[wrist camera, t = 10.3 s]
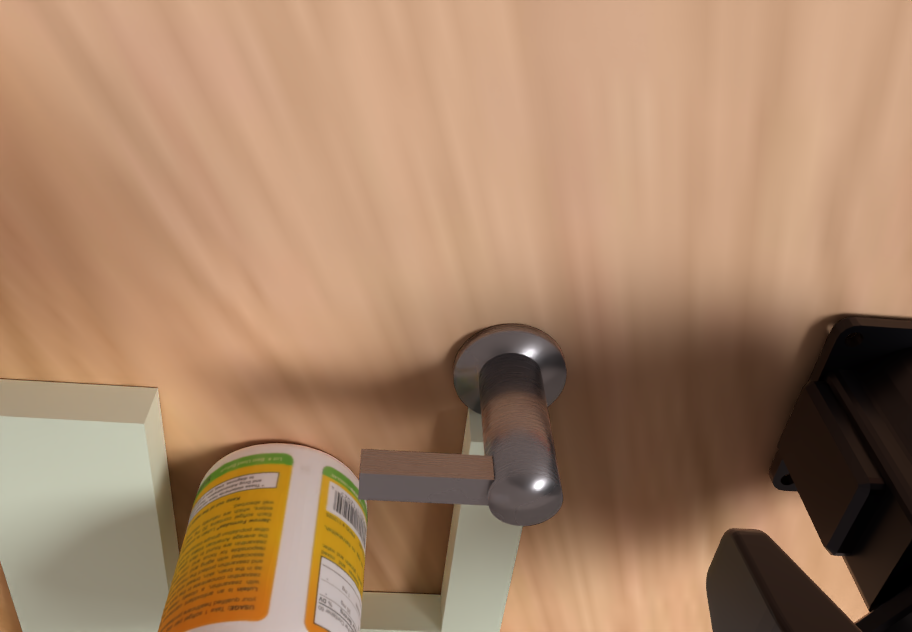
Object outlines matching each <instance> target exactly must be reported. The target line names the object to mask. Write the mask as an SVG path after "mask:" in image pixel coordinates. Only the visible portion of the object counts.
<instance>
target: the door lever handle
mask: <svg viewBox="0 0 912 632" xmlns="http://www.w3.org/2000/svg"><path fill="white" fill-rule="evenodd" d="M453 375H454V386H455V389H456V392H457V394H458V396H459V398H460V399H461V400H462V402H463V403H464V404H465V405H466V406H467V407H469V408H470V409H471V410H473V411H475V412H476V413H478V414H481V418H482V431H483V444H484V455H465V454H446V453H427V452H408V451H389V450H370V449H362V451H361V463H360V475H359V494H358V499H360V500H380V501H401V502H422V503H443V504H464V505H485V506H489V509H490V511H491V513H492V514H493V515H494V516H495V517H496V518H497V519H499V520H500V521H502V522H504V523H507V524H510V525H515V526H530V525H535V524H539V523H542V522H544V521H546V520H548V519H550V518H551V517H553V516H554V515H555V514H556V513H557V512H558V511H559V509H560V507H561V505H562V502H563V494H562V488H561V482H560V476H559V471H558V465H557V459H556V453H555V447H554V442H553V436H552V430H551V424H550V419H549V413H548V406H549V405H550V404H552V403H553V402H554V401H555V400H556V399H557V397H558V396H559V395H560V393H561V392H562V390H563V388H564V385H565V382H566V366H565V361H564V356H563V353H562V351H561V349H560V347H559V345H558V344H557V343H556V342H555V340H554V339H553V338H551V337H550V336H549V335H548V334H546V333H545V332H543V331H541V330H539V329H536V328H534V327H531V326H526V325H520V324H505V325H498V326H494V327H491V328H487V329H485V330H483V331H481V332H479V333H477V334H475V335H474V336H472V337H471V338H470V339H469V340H468V341H467V342H465V343H464V345H463V346H462V347H461V348H460V350H459V352H458V353H457V356H456V358H455V361H454V368H453Z"/></svg>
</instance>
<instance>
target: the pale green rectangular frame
mask: <svg viewBox="0 0 912 632" xmlns="http://www.w3.org/2000/svg"><path fill="white" fill-rule="evenodd" d="M462 454H465V455H484V444H483V431H482V418H481V414H478V413H476V412H475V411H473V410H471V409H470V408H469V407H468V414H467V420H466V427H465V434H464V441H463V447H462ZM522 528H523V526H515V525H510V524H507V523H504V522H502V521H500V520H499V519H497V518H496V517H495V516H494V515H493V514H492V513H491V511H490V509H489V506H485V505H464V504H454V508H453V515H452V522H451V528H450V535H449V542H448V549H447V555H446V562H445V569H444V575H443V582H442V589H441V595H434V594H409V593H383V592H363V596H362V611H361V626H360V632H500V627H501V623H502V618H503V614H504V609H505V605H506V600H507V596H508V591H509V587H510V582H511V578H512V573H513V568H514V564H515V559H516V555H517V550H518V546H519V541H520V537H521V532H522ZM178 558H179V548H178V540H177V532H176V524H175V517H174V509H173V501H172V493H171V486H170V478H169V470H168V462H167V455H166V447H165V439H164V431H163V424H162V416H161V408H160V400H159V393H158V388H147V387H129V386H112V385H95V384H77V383H60V382H43V381H25V380H8V379H0V562H1V565H2V569H3V572H4V575H5V578H6V581H7V584H8V587H9V591H10V594H11V597H12V600H13V603H14V606H15V610H16V613H17V616H18V619H19V622H20V625H21V628H22V632H158V629H159V625H160V622H161V617H162V614H163V610H164V608H165V603H166V601H167V597H168V593H169V590H170V587H171V583H172V579H173V576H174V573H175V569H176V565H177V562H178Z"/></svg>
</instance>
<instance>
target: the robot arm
mask: <svg viewBox="0 0 912 632" xmlns="http://www.w3.org/2000/svg"><path fill="white" fill-rule="evenodd" d="M852 333H856V334H855V335H854V336H852V337H851V338H847V336H848V335H850V334H852ZM787 474H788V475H787ZM769 476H770V478H771V480H772V483H773V485H774V487H775V488H777V489H778V490H783V491H798V493H799V495H800V497H801V499H802V501H803V503H804V505H805V508H806V510H807V512H808V514H809V516H810V518H811V520H812V522H813V525H814V527H815V529H816V531H817V533H818V535H819V537H820V539H821V542H822V544H823V546H824V547H825V548H826V550H827V551H828V552H829V553H830V554H831V555H835V556H842V557H843V559H844V561H845V563H846V565H847V567H848V569H849V571H850V573H851V575H852V577H853V579H854V581H855V583H856V585H857V588H858V590H859V592H860V594H861V596H862V598H863V600H864V602H865V604H866V606H867V608H868V610H869V613H868V614H866V615H865V616H863V617H862V618H861V619H859V620H858V621H856V622H855V623H853V622H852V621H851V620H850V619H849V618H848V617H847V615H846V614H845V613H844V612H843V611H842V610H841V609H840V608H839V607H838V606H837V605H836V604H835V603H834V602H833V601H832V600H831V599H830V598H829V597H828V596H827V595H826V594H825V593H824V592H823V591H822V590H821V589H820V588H819V587H818V586H817V585H816V584H815V583H814V582H813V581H812V580H811V579H810V578H809V577H808V576H807V575H806V574H805V573H804V572H803V571H802V570H801V568H800V567H799V566H798V565H797V564H796V563H795V562H794V561H793V560H792V559H791V558H790V557H789V556H788V555H787V554H786V553H785V552H784V551H783V550H782V549H781V548H780V547H779V546H778V545H777V544H776V543H775V542H774V541H773V540H772V539H771V538H770V537H769V536H768V535H767V534H766V533H764V532H763V531H760V530H756V529H737V528H732V529H729V530H727V531H726V532H725V533H724V535H723V537H722V539H721V541H720V544H719V546H718V548H717V551H716V553H715V555H714V558H713V560H712V562H711V565H710V567H709V570H708V573H707V578H706V591H707V598H708V604H709V611H710V617H711V623H712V630H713V632H912V321H909V320H894V319H879V318H865V317H848V318H845V319H843V320H840V321H839V322H838V323H836V324H835V325H834V327H833V328H832V330H831V331H830V334H829V336H828V338H827V340H826V343H825V345H824V347H823V349H822V352H821V354H820V356H819V359H818V361H817V363H816V365H815V368H814V370H813V372H812V374H811V377H810V379H809V381H808V383H807V384H806V385H805V386H804V387H803V389H802V391H801V393H800V395H799V398H798V400H797V402H796V404H795V407H794V409H793V411H792V413H791V416H790V418H789V420H788V423H787V425H786V427H785V429H784V432H783V434H782V436H781V438H780V441H779V443H778V451H777V453H776V455H775V458H774V460H773V462H772V464H771V467H770V469H769Z"/></svg>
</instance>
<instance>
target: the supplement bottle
mask: <svg viewBox="0 0 912 632" xmlns="http://www.w3.org/2000/svg"><path fill="white" fill-rule="evenodd" d="M358 494H359V480H358V478H357V477H356V476H355V475H354V474H353V472H352V471H351V470H350V469H349V468H348V467H347V466H346V465H344V464H343V463H342V462H340V461H339V460H337V459H336V458H334V457H333V456H331V455H329V454H327V453H325V452H322V451H320V450H316V449H313V448H310V447H306V446H301V445H295V444H285V443H269V444H260V445H254V446H249V447H246V448H242V449H239V450H237V451H234V452H232V453H230V454H228V455H226V456H225V457H223V458H222V459H220V460H219V461H218V462H217V463H215V464H214V465H213V466H212V467H211V469H210V470H209V471H208V472H207V473H206V475H205V476H204V478H203V480H202V482H201V484H200V486H199V489H198V492H197V495H196V498H195V501H194V504H193V508H192V511H191V515H190V518H189V522H188V526H187V529H186V533H185V537H184V540H183V544H182V547H181V551H180V555H179V558H178V562H177V565H176V569H175V573H174V576H173V579H172V583H171V587H170V590H169V593H168V597H167V601H166V603H165V608H164V610H163V614H162V617H161V622H160V625H159V629H158V632H360V626H361V611H362V596H363V583H364V566H365V552H366V536H367V500H360V499H358Z"/></svg>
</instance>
